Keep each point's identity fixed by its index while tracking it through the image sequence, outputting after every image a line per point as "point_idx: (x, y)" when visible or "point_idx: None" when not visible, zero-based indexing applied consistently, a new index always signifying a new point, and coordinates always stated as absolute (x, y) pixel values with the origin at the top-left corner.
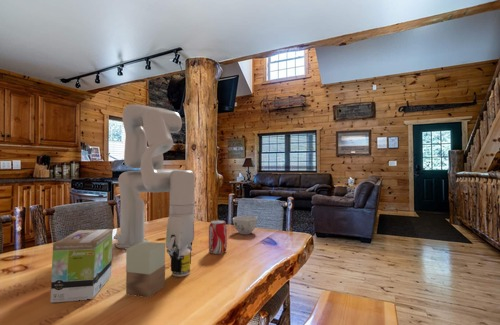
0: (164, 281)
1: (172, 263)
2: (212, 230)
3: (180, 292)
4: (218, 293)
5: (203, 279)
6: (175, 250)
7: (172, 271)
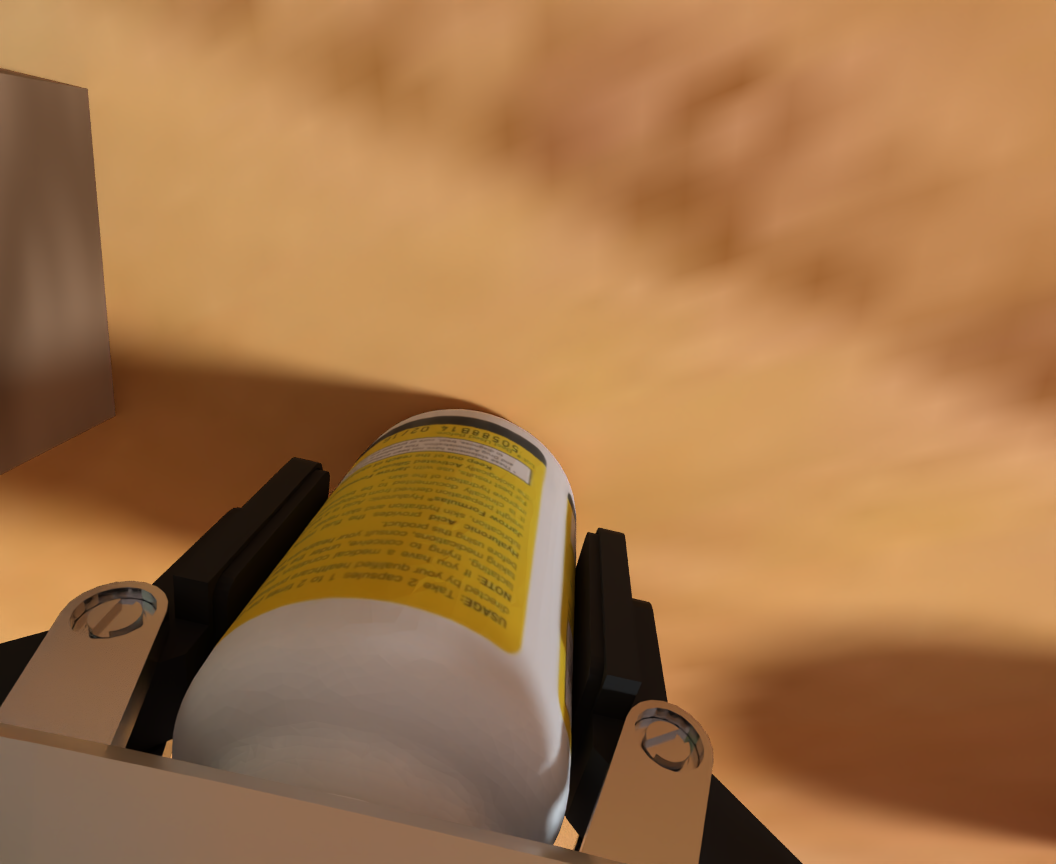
0: (62, 435)
1: (182, 560)
2: None
3: (50, 591)
4: None
5: None
6: (218, 738)
7: (381, 440)
